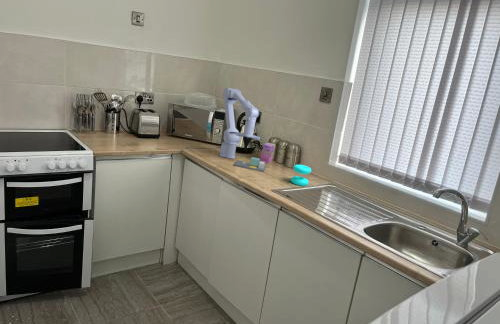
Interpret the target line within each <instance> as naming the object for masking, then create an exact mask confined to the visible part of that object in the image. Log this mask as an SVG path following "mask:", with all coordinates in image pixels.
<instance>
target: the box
mask: <svg viewBox="0 0 500 324" xmlns="http://www.w3.org/2000/svg"><path fill="white" fill-rule="evenodd" d="M275 149H276V143H271V142H266V143H263V145H262V150H261V154H260V158H259V159H260V161H261V162H265V164H267V165H268V164H270V163H271V162H273V158H274V154H275V153H274V152H275ZM260 161H259V162H260Z"/></svg>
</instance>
